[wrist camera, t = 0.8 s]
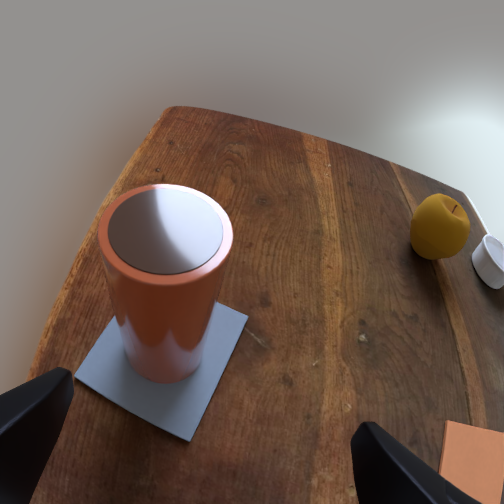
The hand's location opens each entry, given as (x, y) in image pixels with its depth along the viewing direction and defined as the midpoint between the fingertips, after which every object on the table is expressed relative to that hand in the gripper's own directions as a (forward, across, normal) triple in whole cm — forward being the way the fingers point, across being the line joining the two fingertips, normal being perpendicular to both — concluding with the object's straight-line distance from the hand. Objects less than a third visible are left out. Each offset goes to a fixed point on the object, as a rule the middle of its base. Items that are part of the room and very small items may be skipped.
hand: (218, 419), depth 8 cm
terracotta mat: (+4, -28, +15) cm, 32 cm away
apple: (+31, -27, -2) cm, 41 cm away
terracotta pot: (+14, +3, +8) cm, 17 cm away
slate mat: (+15, +3, +8) cm, 17 cm away
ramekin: (+31, -42, -2) cm, 53 cm away
